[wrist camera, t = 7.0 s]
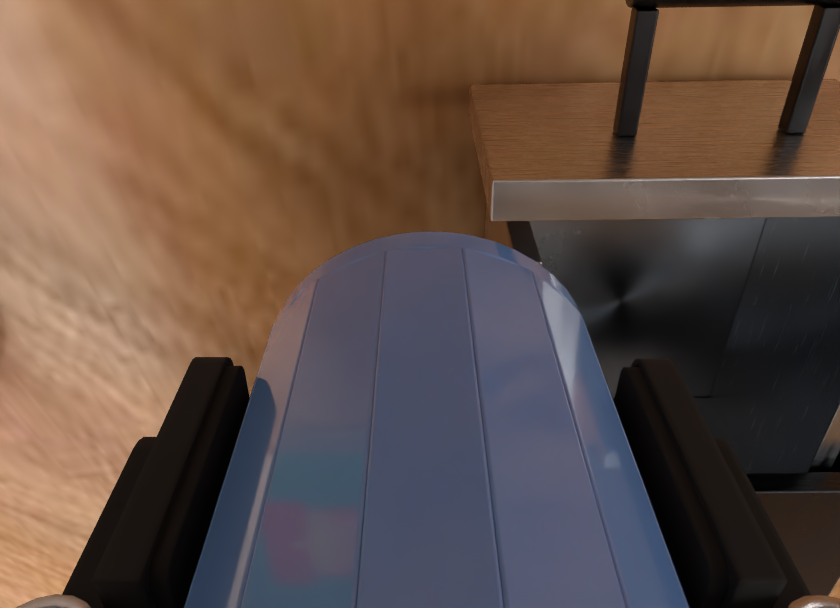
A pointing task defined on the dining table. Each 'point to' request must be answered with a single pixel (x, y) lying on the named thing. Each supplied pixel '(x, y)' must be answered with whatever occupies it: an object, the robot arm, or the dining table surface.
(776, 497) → the black box
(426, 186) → the dining table surface
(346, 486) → the cup
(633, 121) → the drawer
